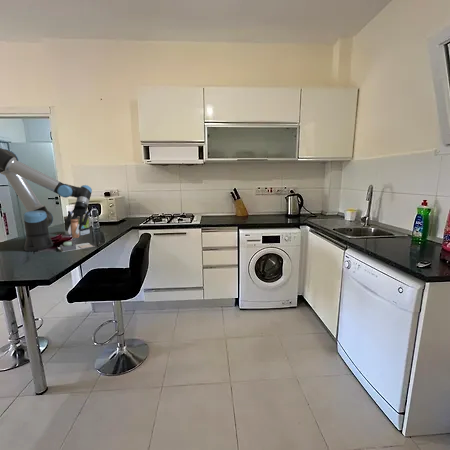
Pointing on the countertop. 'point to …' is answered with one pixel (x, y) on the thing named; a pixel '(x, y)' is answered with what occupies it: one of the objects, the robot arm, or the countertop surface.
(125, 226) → the countertop surface
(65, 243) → the button
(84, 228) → the tea box
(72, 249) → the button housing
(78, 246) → the board
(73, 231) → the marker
